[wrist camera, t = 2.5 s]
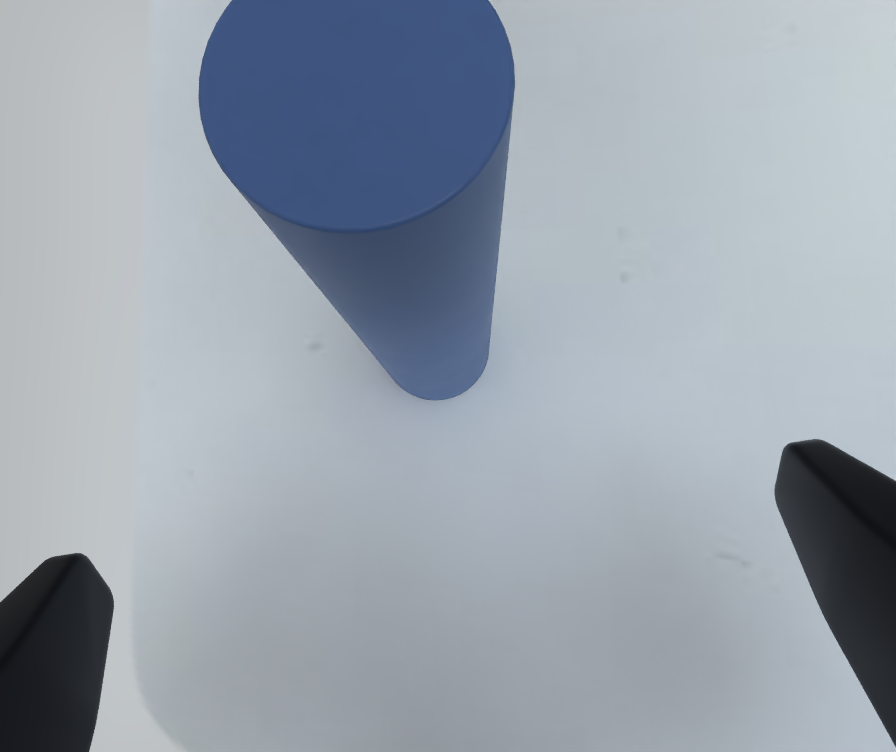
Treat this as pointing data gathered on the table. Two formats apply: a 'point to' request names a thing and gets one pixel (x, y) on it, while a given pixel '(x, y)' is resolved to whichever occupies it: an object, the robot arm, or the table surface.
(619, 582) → the table surface
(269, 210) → the peg
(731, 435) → the table surface
